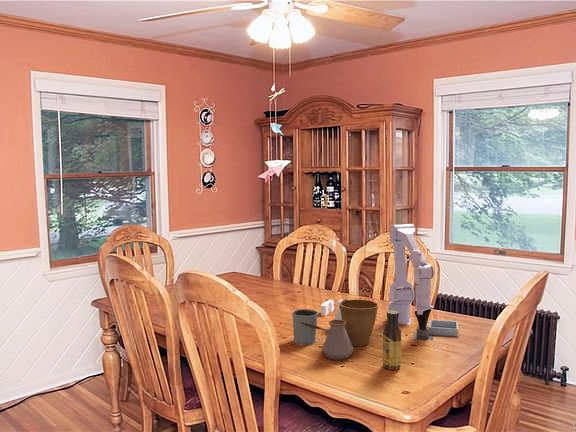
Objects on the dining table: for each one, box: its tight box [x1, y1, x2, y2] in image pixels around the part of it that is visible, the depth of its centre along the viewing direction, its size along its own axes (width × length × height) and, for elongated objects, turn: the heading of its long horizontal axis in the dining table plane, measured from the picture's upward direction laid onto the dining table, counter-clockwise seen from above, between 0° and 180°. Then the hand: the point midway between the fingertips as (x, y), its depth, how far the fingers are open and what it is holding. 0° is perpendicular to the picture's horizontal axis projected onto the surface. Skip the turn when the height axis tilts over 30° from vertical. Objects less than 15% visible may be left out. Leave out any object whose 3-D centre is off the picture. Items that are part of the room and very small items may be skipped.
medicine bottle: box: [334, 298, 348, 320], centre depth 228 cm, size 7×7×12 cm
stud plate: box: [411, 332, 434, 341], centre depth 213 cm, size 8×8×3 cm
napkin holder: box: [320, 299, 335, 317], centre depth 252 cm, size 15×11×6 cm
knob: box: [416, 321, 429, 339], centre depth 213 cm, size 5×5×7 cm
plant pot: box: [340, 299, 379, 347], centre depth 207 cm, size 15×15×16 cm
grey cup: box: [291, 308, 319, 346], centre depth 210 cm, size 10×10×12 cm
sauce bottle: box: [382, 310, 402, 371], centre depth 181 cm, size 7×6×20 cm
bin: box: [428, 319, 459, 337], centre depth 219 cm, size 11×11×4 cm
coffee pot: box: [298, 319, 354, 361], centre depth 191 cm, size 21×12×15 cm, turn 114°
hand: (422, 327), depth 213 cm, fingers closed on knob, 3 cm apart
